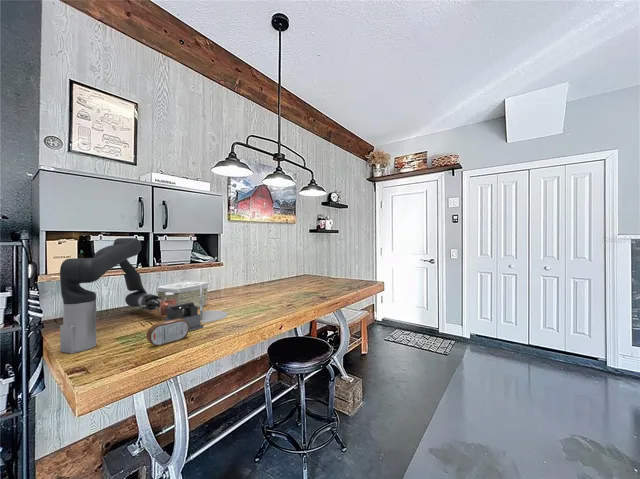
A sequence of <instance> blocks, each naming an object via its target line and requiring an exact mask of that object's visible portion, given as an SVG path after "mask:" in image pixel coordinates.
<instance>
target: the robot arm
mask: <svg viewBox="0 0 640 479" xmlns="http://www.w3.org/2000/svg"><path fill="white" fill-rule="evenodd" d="M141 250H142V242H141V241H140V239H138V238H135V237H120V238H119V237H118V238H115V240H114V241H113V244H111V245H108V246H105V247H103V248H100V249H99V250H98V251H96V252H95V254H94V257H86V258H85V257H81V258H80V257H79V258H77V257H76V258H73V257H72V258H67V259H65V260H63V261H62V263H61V264H60V269H59V279H60V292H61V297H62V298H61V299H62V303H63V305H62V307H63V308H62V309H63V310H62V312H63V313H62V316H63V317H62V319H63V321H62V322H63V323H62V324H60V326H59V327H60V328H59V336H60V339H59V340H60V341H59V342H60V345H59V347H60V349H59V350H60V353H67V354H75V353H79V352H80V353H81V352H83V351H89V350H90V349H92V348H95V347H96V346H97V294H96V292H94V291H92V290H88V289H86V288H84V287H82V286H81V284H89V283H94V282H97V281H98V280H99V279H100V278H102V277H103V276H104V275H105V274H106V273H107V272H108V271H110V270H112V269H113V268H114V267H117V266H118V265H119V267H120V268H121V271H122V270H123V271H124V272H125V273H126V274H123V277H124V282H125V286H126V289H127V291H129V292H131V293H128V294H127V295H126V296H125V299H124V300H125V304H127V305H128V306H129V307H141V309H146V310H147V311H148V310H149V311H152V310H153V311H154V310H155V309H159V308H160V301H163V300H160V298H159V297H158V295H157V294H151V293H148V292H147V291H146V289H145V288H144V286H143V282H142V278H141V277H142V276H141V274H140V272H139V273H137V271H138V270H137V269H136V268H135V267H134V266H133V265H132V264H131V263H130V261H129V260H128V259H130V258H132V257H135V256H138V255H139V253H140V252H141ZM135 269H136V270H137V271H136V270H135ZM166 300H168V299H166Z"/></svg>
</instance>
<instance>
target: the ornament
mask: <svg viewBox="0 0 640 479" xmlns="http://www.w3.org/2000/svg"><path fill="white" fill-rule="evenodd" d="M199 314H200V324H203V323H205V324H206V323H212V322H216V321H220V319H221V320H222V319H223V320H224V319H225V318H227V317H228V316H229V314H228V312H226V311H222V310H204V306H203V286H202V285H201V286H200V307H199Z"/></svg>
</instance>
